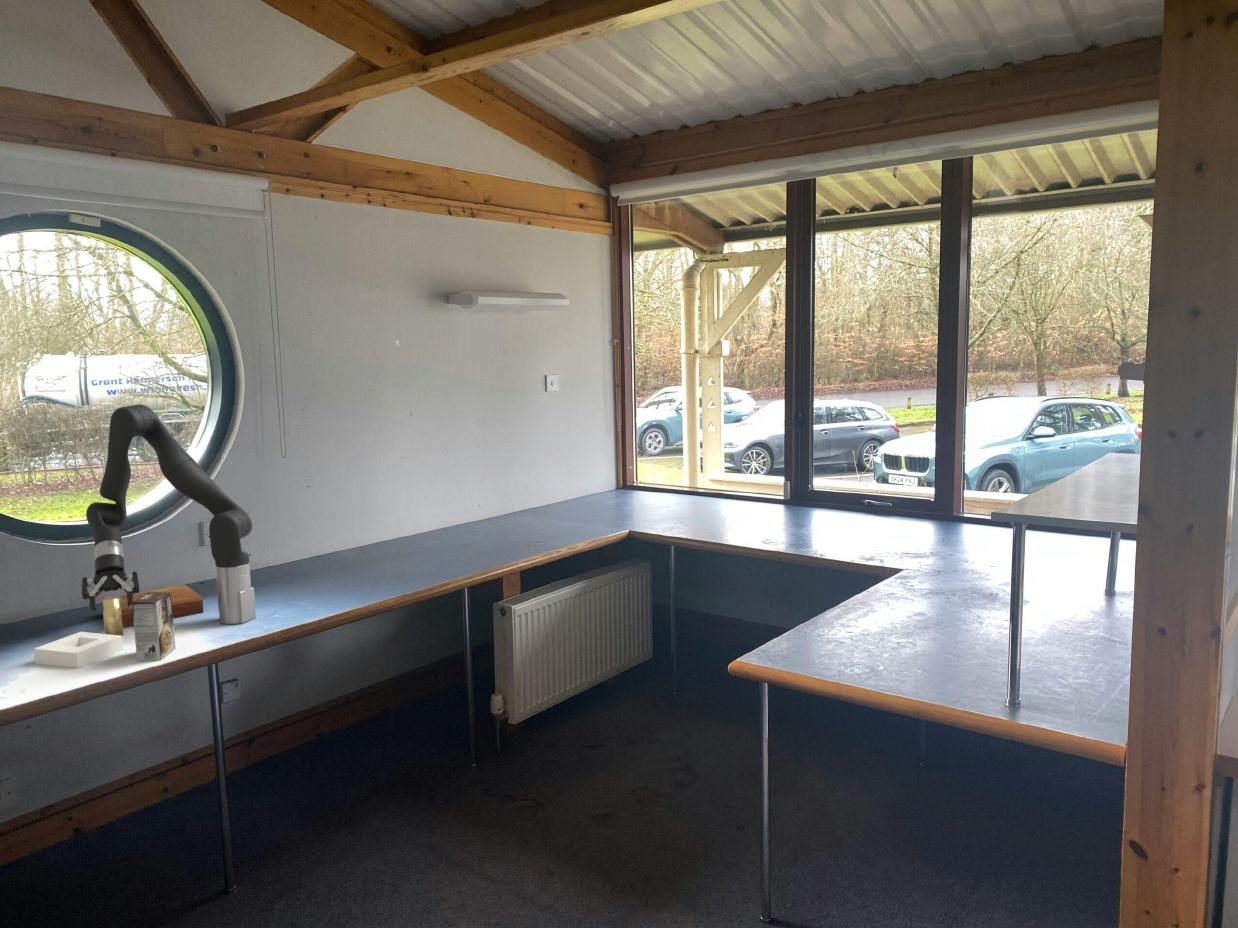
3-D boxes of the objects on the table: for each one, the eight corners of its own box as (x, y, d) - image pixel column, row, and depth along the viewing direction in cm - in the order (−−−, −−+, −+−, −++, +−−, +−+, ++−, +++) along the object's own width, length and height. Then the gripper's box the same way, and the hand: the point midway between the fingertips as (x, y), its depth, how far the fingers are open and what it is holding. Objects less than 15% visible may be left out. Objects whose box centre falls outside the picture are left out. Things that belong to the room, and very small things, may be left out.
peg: (127, 633, 248) (124, 596, 246) (114, 638, 244) (111, 601, 242) (114, 632, 249) (111, 595, 248) (101, 637, 245) (98, 600, 243)
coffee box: (151, 649, 235) (147, 591, 233) (176, 648, 235) (171, 591, 233) (135, 661, 226) (130, 601, 224) (161, 660, 226) (156, 600, 224)
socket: (122, 649, 234) (121, 635, 234) (78, 668, 221) (77, 653, 221) (81, 645, 238) (80, 631, 238) (35, 663, 225) (34, 648, 224)
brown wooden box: (120, 631, 252) (118, 612, 251) (105, 617, 266) (103, 598, 265) (203, 614, 267) (202, 596, 267) (185, 601, 281) (184, 584, 280)
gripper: (79, 555, 248) (81, 604, 240) (136, 549, 255) (139, 597, 247) (82, 569, 253) (83, 617, 245) (137, 563, 260) (141, 610, 252)
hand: (111, 607), depth 246 cm, fingers open, 8 cm apart
